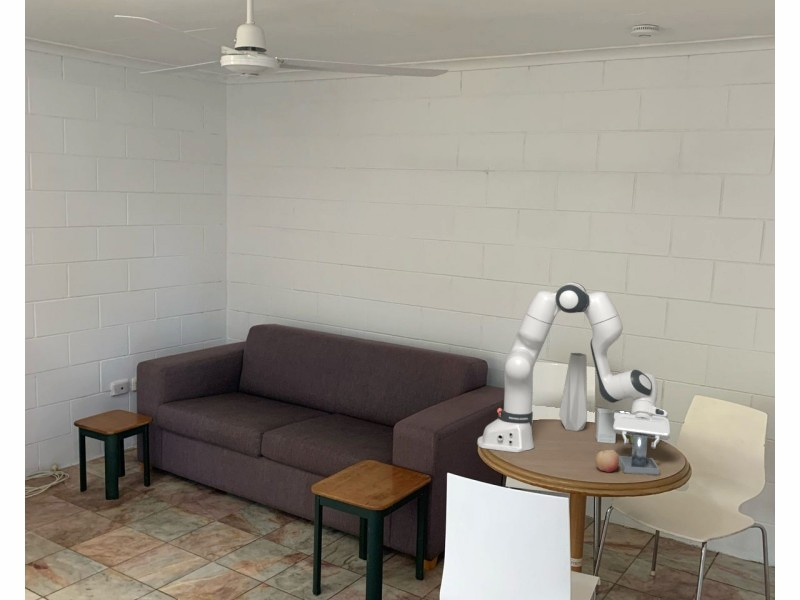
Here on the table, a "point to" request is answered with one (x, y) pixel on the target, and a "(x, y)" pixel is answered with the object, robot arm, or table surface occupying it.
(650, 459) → the tray
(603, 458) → the fruit
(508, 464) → the table surface
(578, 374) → the vase
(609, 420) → the supplement box
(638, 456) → the canister
